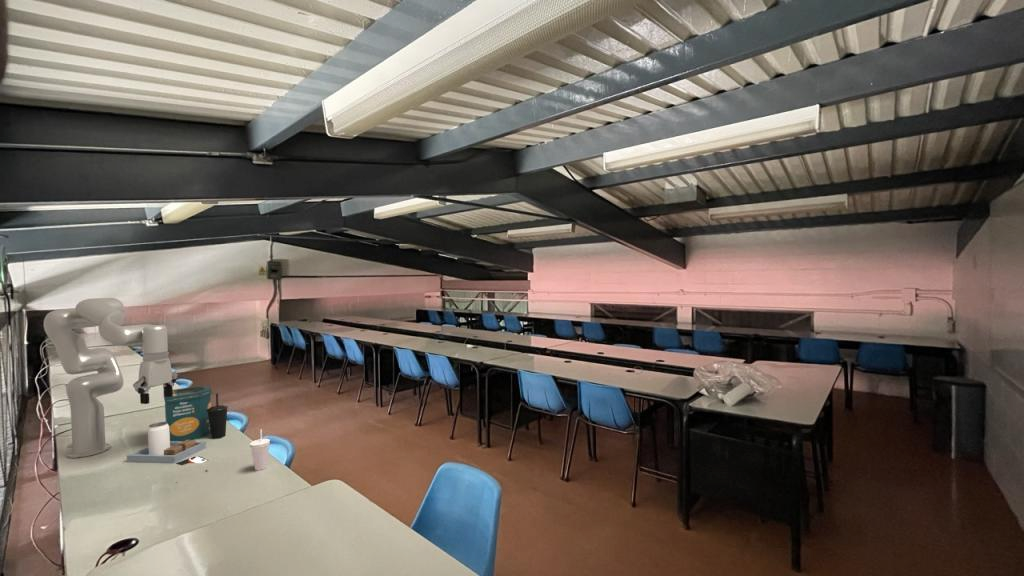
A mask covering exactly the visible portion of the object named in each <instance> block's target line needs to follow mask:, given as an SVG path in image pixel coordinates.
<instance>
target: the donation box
mask: <svg viewBox="0 0 1024 576" xmlns="http://www.w3.org/2000/svg"><path fill="white" fill-rule="evenodd" d="M162 385H163V387H162V388H163V391H164V387H165V385H164V384H162ZM211 395H212V388H211V387H210V386H209V385H196V386H191V387H190V386H188V387H183V388H177V389H173V396H172V397H165V396H164V395H163V399H164V411H165V415H164V416H165V422H168V423H167V424H168V425H169V432H170V441H182V442H183V441H186V440H199V439H203V438H205V437H207V436H209V435H211V431H210V424H209V418H208V412H207V409H209V408H210V407H212V403H211V402H212V399H211V398H212V397H211Z"/></svg>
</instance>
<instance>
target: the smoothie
mask: <svg viewBox="0 0 1024 576" xmlns="http://www.w3.org/2000/svg"><path fill="white" fill-rule="evenodd" d="M270 443H271V440H270V439H269V438H263V429H262V428H261V429H259V439H256V440H253V441H251V442H250V443H249V448H250V449H251V450H250V451H251V456H252V460H253V466H254V470H255V471H262V470H261V469H263V470H265V469H266V467H268V459H269V449H270V447H269V446H270ZM264 468H265V469H264Z"/></svg>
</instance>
